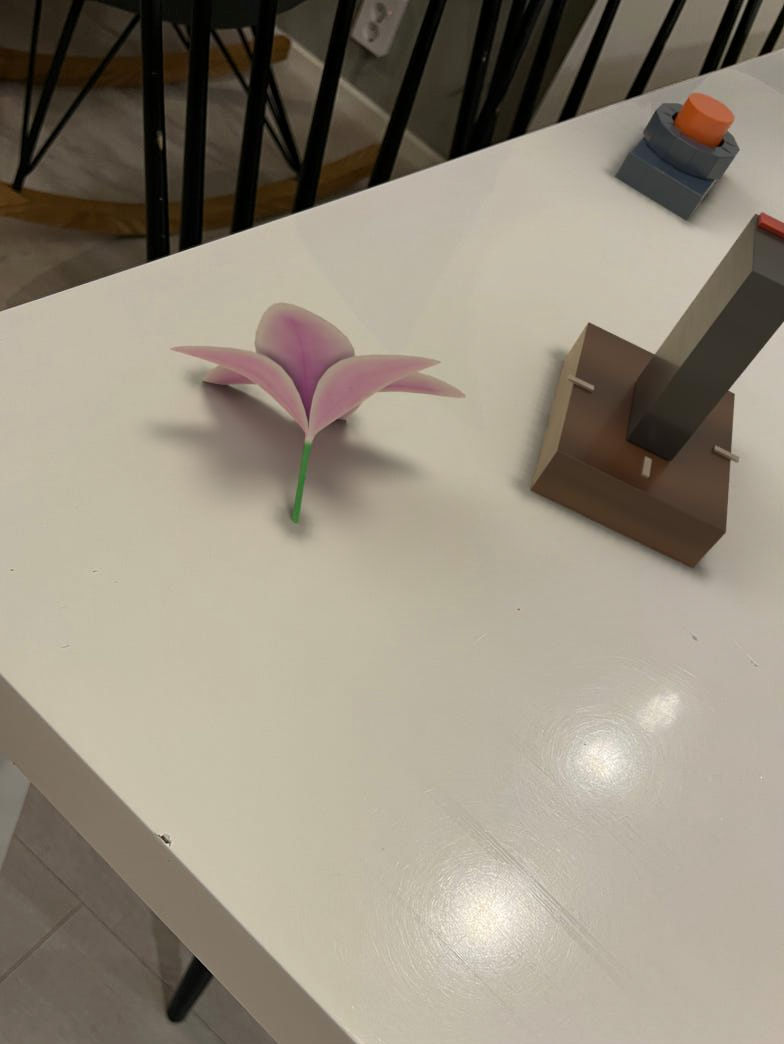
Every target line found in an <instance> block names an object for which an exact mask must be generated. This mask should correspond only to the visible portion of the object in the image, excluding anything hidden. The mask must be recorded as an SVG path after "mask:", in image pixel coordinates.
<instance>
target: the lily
mask: <svg viewBox="0 0 784 1044" xmlns="http://www.w3.org/2000/svg"><path fill="white" fill-rule="evenodd" d="M254 349H255V351H252V350H247V349H241V348H235V347H225V346H212V345H181V346H173V347H171V348H169V350H171V351H173V352H176V353H179V354H180V353H181V354H184V355H187V356H190V357H193V358H197V359H200V360H203V361H206V362H209V363H212V364H214V365H215V364H216V365H217V366H215V367H213V368H212V369H210V371H208V373H207V374H206V375H204V378H203V379H202V381H203V382H205V383H210V384H216V385H224V386H230V385H231V386H233V385H237V386H238V385H257V386H258V387H259V388H260V389H262V390H263V391H264V392H266V393H267V394H268V395H269V396H270V397H271V398H272V399H273V400H274V401H275V402H276V403H278V404H279V406H281V407H282V408H283V409H284V411H285V412H286V413H287V414H288V415H289V416H290V417H291V418H292V419H293V420H294V421H295V422H296V423H297V424H298V425H299V426H300V427H301V429H302V430H303V432H304V435H305V436H304V443H303V449H302V455H301V461H300V467H299V473H298V478H297V485H296V491H295V497H294V503H293V510H292V517H291V521H292V523H293V524H298V523H299V520H300V514H301V507H302V502H303V496H304V488H305V483H306V477H307V472H308V471H307V470H308V465H309V458H310V455H311V451H312V449H311V448H312V445H313V441H314V439H315V437H316V436H317V434H318V433H319V432H320V431H322V430H323V429H325V428H326V427H328V426H329V425H330V424H332V423H334V422H335V421H336V420H345V421H346V420H348V419H349V418H350V417H351V416H353V414H354V413H355V412H356V411H357V410H358V409H359V408H360V407H361V405H362V404H363V402H365V401H366V400H368V399H369V398H370V397H372V396H374V395H375V394H376V393H408V394H409V393H410V394H420V395H428V396H429V395H430V396H437V397H444V398H446V397H447V398H455V399H466V398H467V395H466V393H464V392H463V391H462V390H460V389H458V388H457V387H455V386H453V385H452V384H450V383H448V382H446V381H444V380H442V379H439V378H437V377H436V376H435V377H434V376H433V375H430V374H426V373H422V372H421V371H423V370H426V369H429V368H432V367H434V366H437V365H441V361H440V360H438V359H434V358H430V357H424V356H418V355H417V356H416V355H403V354H363V355H356V353H355V348H354V346H353V344H352V342H351V341H350V339H349V338H348V336H347V335H346V334H345V333H343V331H341V330H340V329H339V327H337V326H336V325H334V324H333V323H332V322H331V321H328V320H327V319H325V318H324V317H322V316H320V315H319V314H317V313H314V312H312V311H310V310H308V309H307V308H304V307H302V306H298V305H295V304H294V303H288V302H276V303H273V304H271V305H269V307H267V309H266V310H265V311H264V312H263V314H262V315H261V318H260V320H259V322H258V324H257V328H256V330H255V336H254Z"/></svg>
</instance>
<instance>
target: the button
mask: <svg viewBox="0 0 784 1044" xmlns="http://www.w3.org/2000/svg"><path fill="white" fill-rule="evenodd" d="M682 105H683V107H682V108H681V110H680V112H679V113H678V115H677V117H676V118H675V120H674V124H675V126H676V127H677V128H678V129H679V130H680V131H681V132H682V133H684V134H685V135H687V136H688V137H690V138H692V139H693V140H695V141H696V142H698V143H701V144H704V145H707V146H710V147H717V146H718V145H719V143H720V142H721V140H722V139H723V137H724V136H725V134H726V133H727V131H728V132H729V130H730V128H731V127H732V125H733V123H734V122H735V115H734V113H733V111H732V110H731V109H730V108H728V106H727V105H726V104H724V103H723V102H722V101H719V100H718V99H716V98H715V97H712V96H710V95H708V94H705V93H701V92H692V93H690V94H689V95H688V96H687V98H686V100H685V102H684V104H682Z"/></svg>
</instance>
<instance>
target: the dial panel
mask: <svg viewBox="0 0 784 1044" xmlns="http://www.w3.org/2000/svg"><path fill="white" fill-rule="evenodd" d="M654 355H655V353H653V352H651V351H649V350H646V349H644V348H643V347H641V346H639V345H637V344H635V343H633V342H630V341H628V340H626V339H625V338H622V337H621V336H619V335H617V334H615V333H612V332H611V331H610V332H609V331H608V330H606V329H604V328H602V327H600V326H598V325H596V324H594V323H592V322H589V321H588V322H587V323H586V325H585V326H584V329H582V331H581V333H580V334H579V336H578V337H577V339H576V341H574V344H573V345H572V347H571V348H570V350H569V352H568V354H567V355H566V357H565V358H564V359H563V361H562V362H563V363H562V366H561V370H560V373H559V378H558V382H557V385H556V389H555V393H554V396H553V401H552V404H551V408H550V413H549V415H548V420H547V423H546V427H545V431H544V435H543V438H542V443H541V447H540V451H539V455H538V457H537V458H538V459H537V462H536V466H535V469H534V474H533V478H532V481H531V485H530V491H531V492H533V493H534V494H537V495H539V496H541V497H543V498H546V499H547V500H549V501H552V502H554V503H556V504H558V505H560V506H562V507H564V508H567V509H568V510H570V511H573V512H574V513H576V514H579V515H581V516H583V517H585V518H587V519H589V520H591V521H593V522H595V523H597V524H600V525H602V526H604V527H605V528H608V529H610V530H612V531H614V532H616V533H618V534H620V535H622V536H625V537H626V538H628V539H631V540H632V541H635V542H637V543H639V544H641V545H644V546H645V547H647V548H650V549H651V550H654V551H655V552H658V553H660V554H661V555H664V556H666V557H668V558H670V559H672V560H674V561H676V562H678V563H681V564H682V565H685V566H686V567H689V568H691V569H694V568H695V567H696V566H697V565H698V563H699V562H701V560H702V559H703V558H704V557H705V556H706V555H707V554H708V553H709V552H710V551H711V549H713V547H714V546H715V545H716V544H717V543H718V542H719V541H720V540H721V539H722V538H723V537H724V536H725V534H726V533H727V521H728V507H729V506H728V505H729V492H730V491H729V490H730V477H731V476H730V475H731V463H732V462H734V463H736V464H737V463H739V462H740V456H738V455H736V454H735V453H732V447H733V446H732V445H733V429H734V415H735V414H734V413H735V400H736V399H735V398H736V393H735V392H732V391H730V390H728V392H727V393H726V394H725V395H724V397H723V398H722V399H721V400H720V402H719V403H718V404H717V405H716V406H715V408H714V409H713V410H712V411H711V413H710V414H709V415H708V416H707V418H706V419H705V420H704V421H703V423H702V424H701V425H700V426H699V428H698V429H697V430H696V431H695V433H694V434H693V435H692V436H691V437H690V439H689V440H688V441H687V442H686V444H685V445H684V446H683V447H682V449H681V450H680V451H679V452H678V454H677V455H676V456H675V457H674V459H673V460H672V461H670V460H668V459H666V458H664V457H661V456H659V455H657V454H655V453H653V452H651V451H649V450H647V449H645V448H643V447H641V446H639V445H637V444H635V443H633V442H631V441H629V440H627V435H628V429H629V423H630V418H631V412H632V406H633V400H634V395H635V389H636V383H637V379H638V377H639V376H640V374H641V373H642V372H643V370H644V369H645V367H646V366H647V365H648V363H649V362H650V360H651V359H652V358H653V356H654ZM731 461H732V462H731Z"/></svg>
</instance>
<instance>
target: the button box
mask: <svg viewBox="0 0 784 1044" xmlns="http://www.w3.org/2000/svg"><path fill="white" fill-rule="evenodd" d="M683 105H684V104H682V103H678V102H675V103H674V102H662V103H661V104H660V105H659V106H658V107H657V108H655V111H654V113H653V114H652V116H651V117H650V119H649V121H648V122H647V124H646V126H645V128H644V130H643V131H642V134H643V137H642V138H641V139H640V140H638V142H637V143H636V144H635V145H634V147H632V148H631V150H630V151H629V152H628V154H627V155H626V157H625V159H624V160H623V162H622V164H621V166H620V167H619V169H618V171H617V172H616V174H615V176H614V177H615V178H616V179H618V180H619V181H621V182H622V183H623V184H625V185H627V186H628V187H631V188H632V189H634V190H635V191H636V192H638V193H640V194H641V195H644V196H645V197H647V198H648V199H650V200H652V201H653V202H655V203H656V204H658V205H659V206H661V207H663V208H664V209H666V210H668V211H669V212H671V213H673V215H676V216H678V217H679V218H680V219H683V220H684V221H685V222H688V220H689V219H690V218H691V216H692V215H693V214H694V212H695V211H696V209H697V208H698V207H699V206H700V204H701V202H702V201H703V200H704V198H705V197H706V195H707V194H708V193H709V192H710V189H712V187H713V185H714V184H716V182H717V181H718V180H721V179H722V177H723V176H724V174H725V173H726V172H727V170H728V169H729V168H730V165H731V164H732V163H733V161H734V160H735V158H736V157H737V155H738V154H739V153H740V150H741V149H740V147H739V145H738V142H737V140H736V139H735V136H734V135H733V134H732V133H731V132H730V131H729V130H728V131H727V133H726V134H725V136H724V137H723V139H722V140H721V142H720V143H719V145H718V146H717V147H710V146H707V145H704V144H701V143H698V142H696V141H695V140H693V139H692V138H690V137H688V136H687V135H685V134H684V133H682V132H681V131H680V130H679V129H678V128H677V127H676V126H675V124H674V120H675V118H676V117H677V115H678V113H679V112H680V110H681V108H682V107H683Z"/></svg>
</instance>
